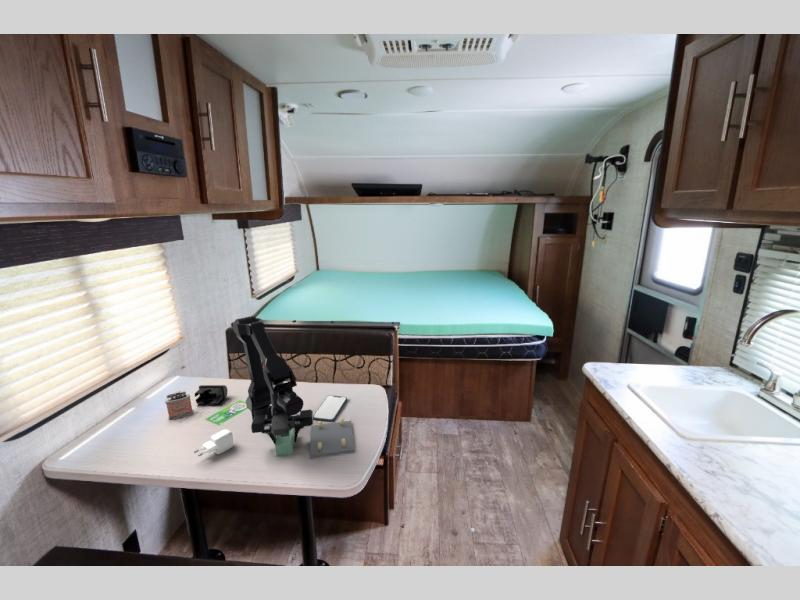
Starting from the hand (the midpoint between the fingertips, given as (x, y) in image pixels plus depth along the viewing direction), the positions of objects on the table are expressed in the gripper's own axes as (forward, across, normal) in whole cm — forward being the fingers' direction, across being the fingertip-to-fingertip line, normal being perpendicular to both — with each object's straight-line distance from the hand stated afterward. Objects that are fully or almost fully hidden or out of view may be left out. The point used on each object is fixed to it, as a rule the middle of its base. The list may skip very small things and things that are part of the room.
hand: (285, 443), depth 121 cm
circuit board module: (+1, 0, 0) cm, 1 cm away
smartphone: (+2, +15, +19) cm, 24 cm away
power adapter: (+1, -22, +1) cm, 22 cm away
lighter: (+1, -41, +27) cm, 49 cm away
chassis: (+1, +15, 0) cm, 15 cm away
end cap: (+1, -32, +35) cm, 47 cm away
